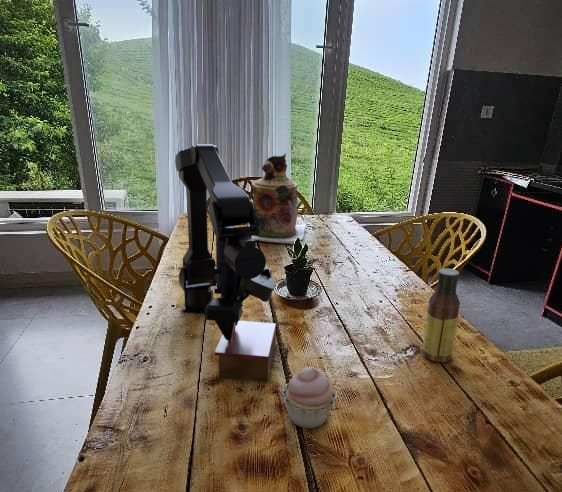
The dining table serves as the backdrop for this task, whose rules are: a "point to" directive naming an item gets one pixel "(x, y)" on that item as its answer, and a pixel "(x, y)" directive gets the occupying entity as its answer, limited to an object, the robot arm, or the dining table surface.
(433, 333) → the sauce bottle
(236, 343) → the cover
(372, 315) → the dining table surface
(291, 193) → the cookie jar
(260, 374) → the hinged lid chest
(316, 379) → the cupcake
